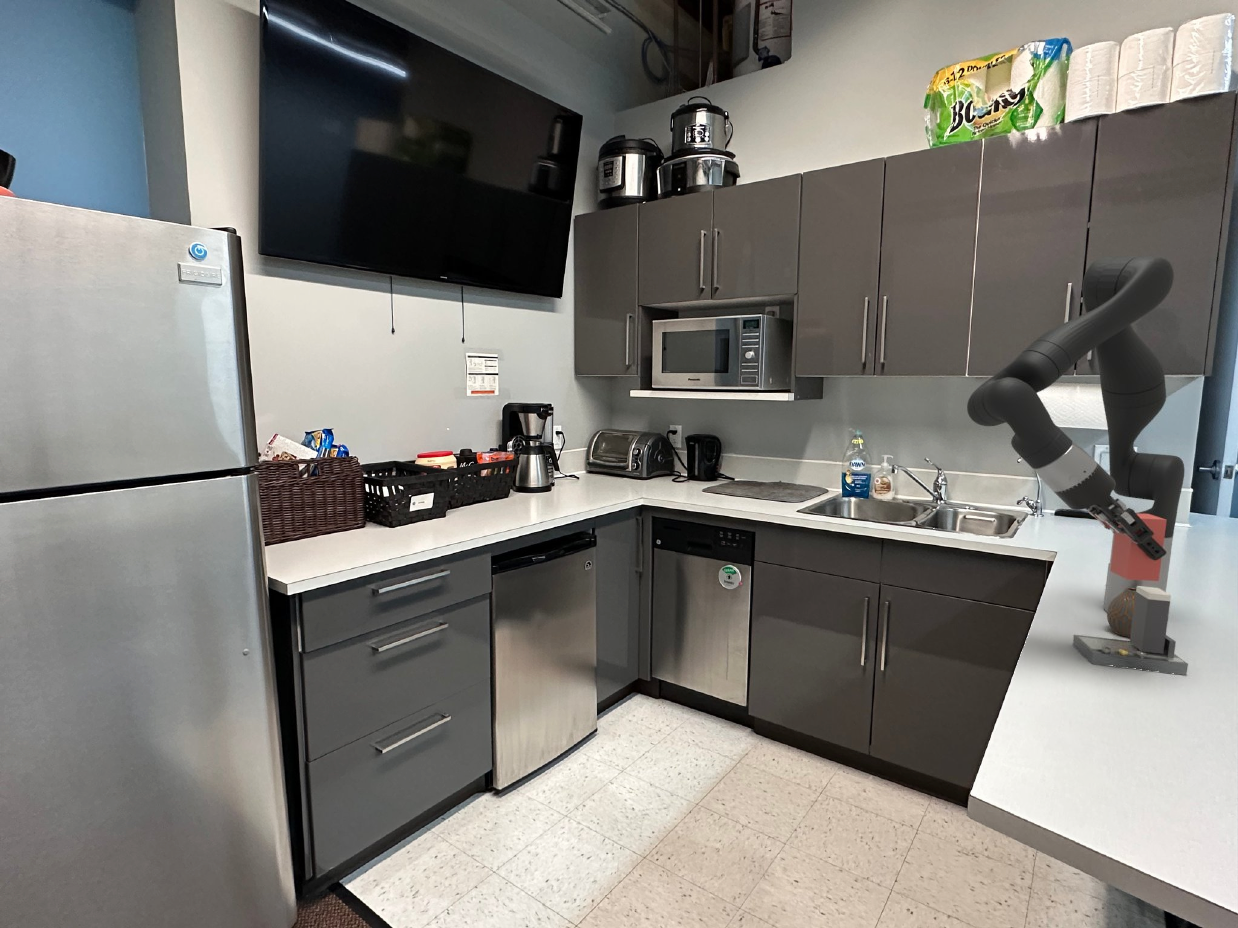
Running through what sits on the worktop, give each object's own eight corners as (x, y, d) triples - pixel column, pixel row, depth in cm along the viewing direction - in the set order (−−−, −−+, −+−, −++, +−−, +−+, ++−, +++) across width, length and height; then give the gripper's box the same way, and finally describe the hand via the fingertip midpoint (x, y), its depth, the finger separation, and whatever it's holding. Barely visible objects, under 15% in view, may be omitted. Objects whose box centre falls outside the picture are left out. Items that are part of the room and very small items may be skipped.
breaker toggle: (1141, 651, 103) (1149, 593, 102) (1129, 641, 107) (1136, 585, 106) (1163, 653, 103) (1171, 595, 101) (1150, 644, 106) (1157, 587, 105)
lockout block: (1110, 570, 104) (1117, 512, 103) (1140, 572, 103) (1148, 513, 102) (1126, 579, 100) (1134, 518, 98) (1158, 581, 99) (1166, 519, 97)
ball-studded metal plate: (1092, 663, 104) (1095, 635, 103) (1072, 645, 112) (1075, 618, 111) (1186, 675, 100) (1190, 645, 100) (1159, 655, 108) (1163, 627, 107)
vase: (1130, 627, 121) (1135, 583, 120) (1162, 641, 114) (1168, 595, 113) (1095, 627, 121) (1100, 583, 119) (1125, 641, 114) (1131, 595, 113)
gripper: (1114, 465, 94) (1200, 549, 92) (1074, 454, 108) (1148, 527, 106) (1070, 497, 96) (1153, 580, 95) (1036, 483, 110) (1108, 555, 108)
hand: (1150, 551), depth 100 cm, fingers closed on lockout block, 4 cm apart
